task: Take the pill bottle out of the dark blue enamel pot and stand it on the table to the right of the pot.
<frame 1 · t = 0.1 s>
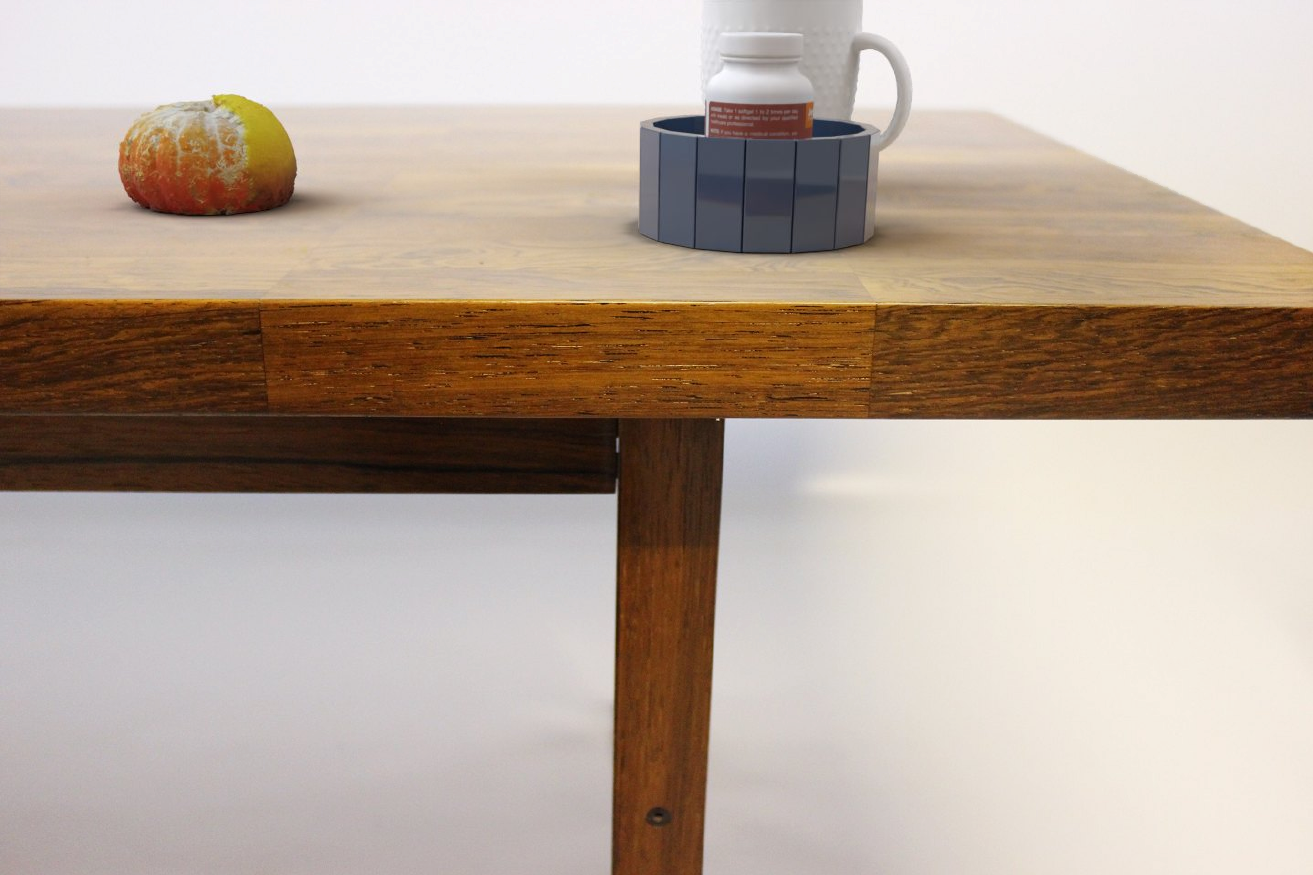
pot: (754, 230, 79), on the table
mug: (788, 188, 96), on the table
pill bottle: (754, 233, 79), resting in pot
fruit: (211, 206, 85), on the table
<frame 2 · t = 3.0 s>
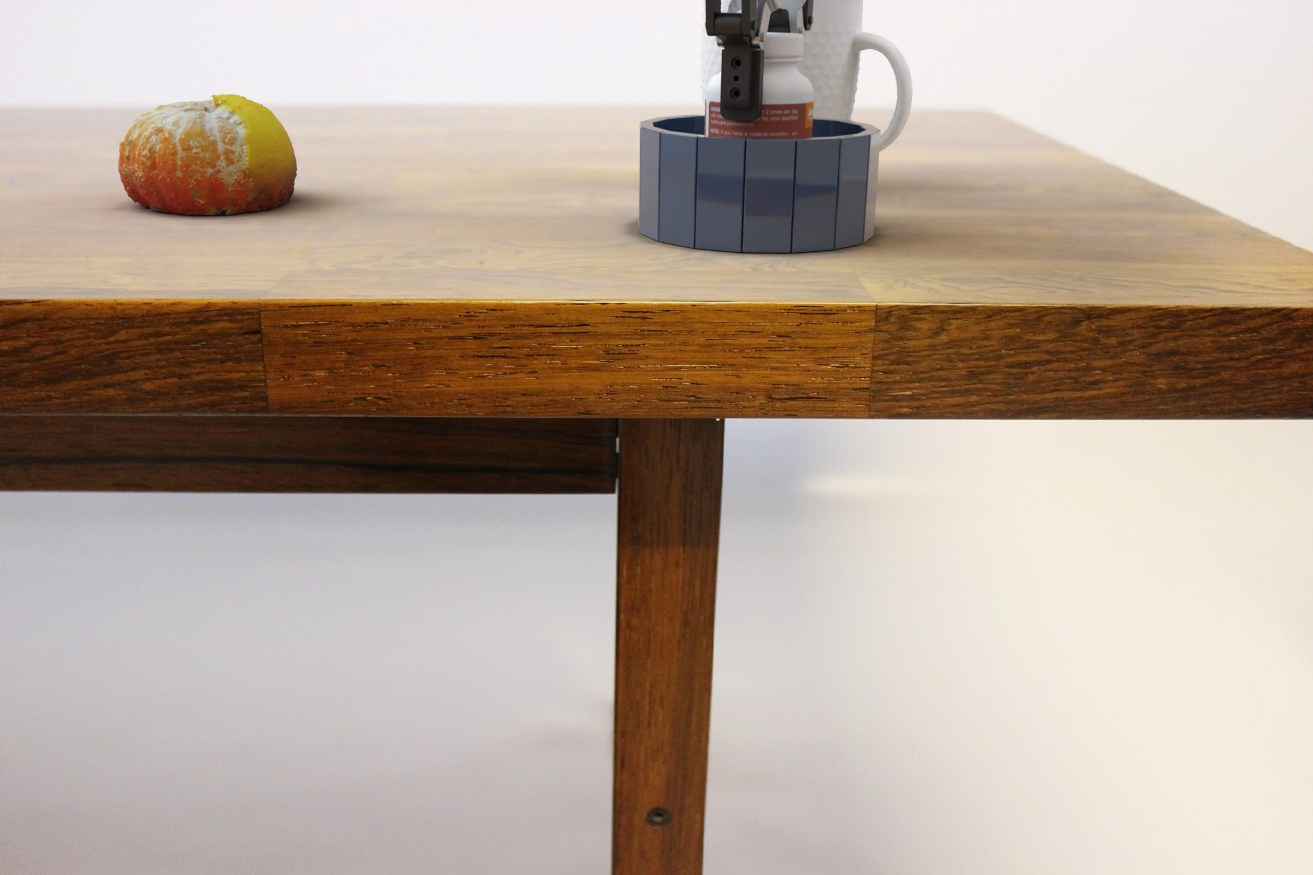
hand: (758, 113, 77), 7 cm above the table, tool pointing down, fingers closed on pill bottle, 6 cm apart
pill bottle: (754, 233, 79), resting in pot, touching gripper
everything else where it was.
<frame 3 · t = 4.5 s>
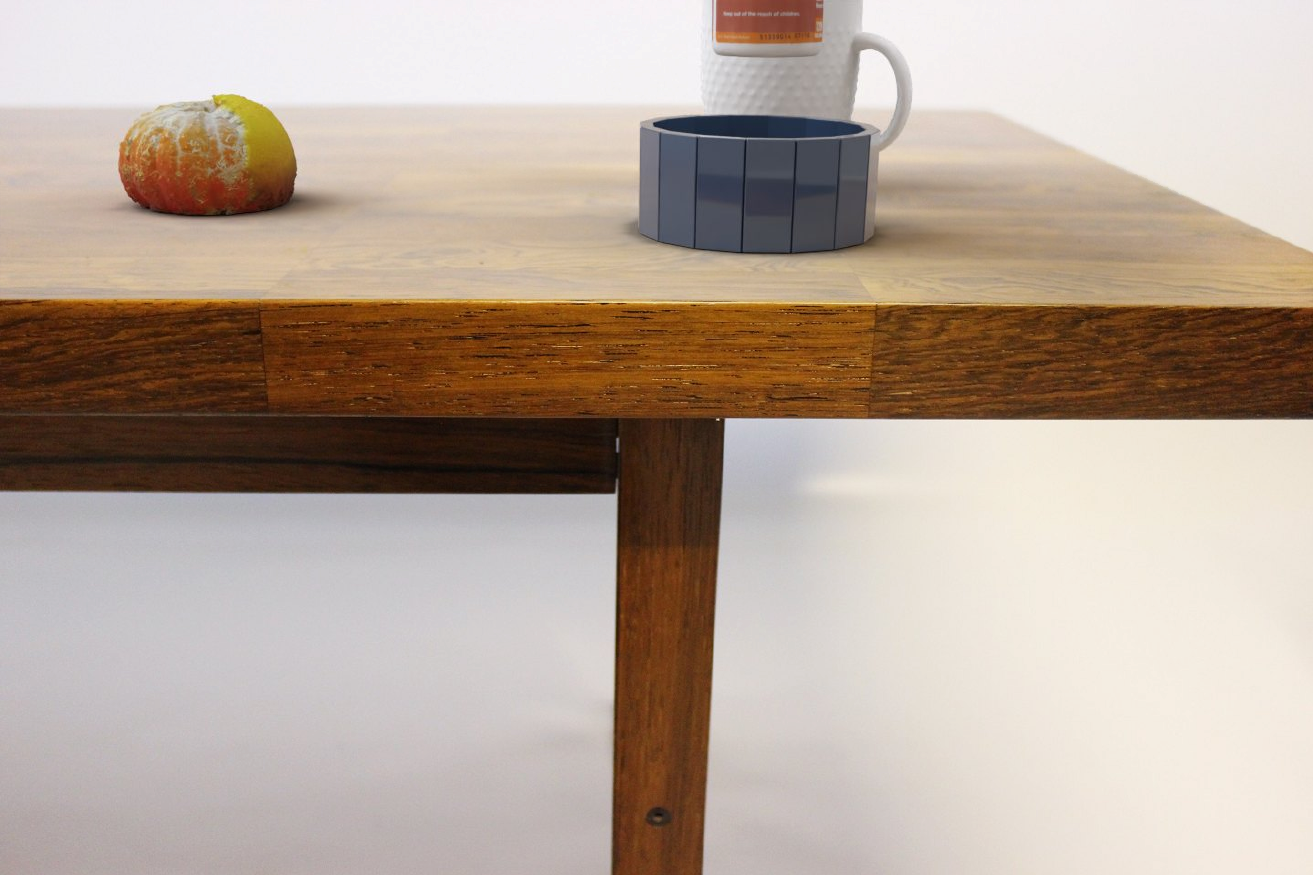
pill bottle: (765, 59, 76), point 10 cm above the table, touching gripper
everything else where it was.
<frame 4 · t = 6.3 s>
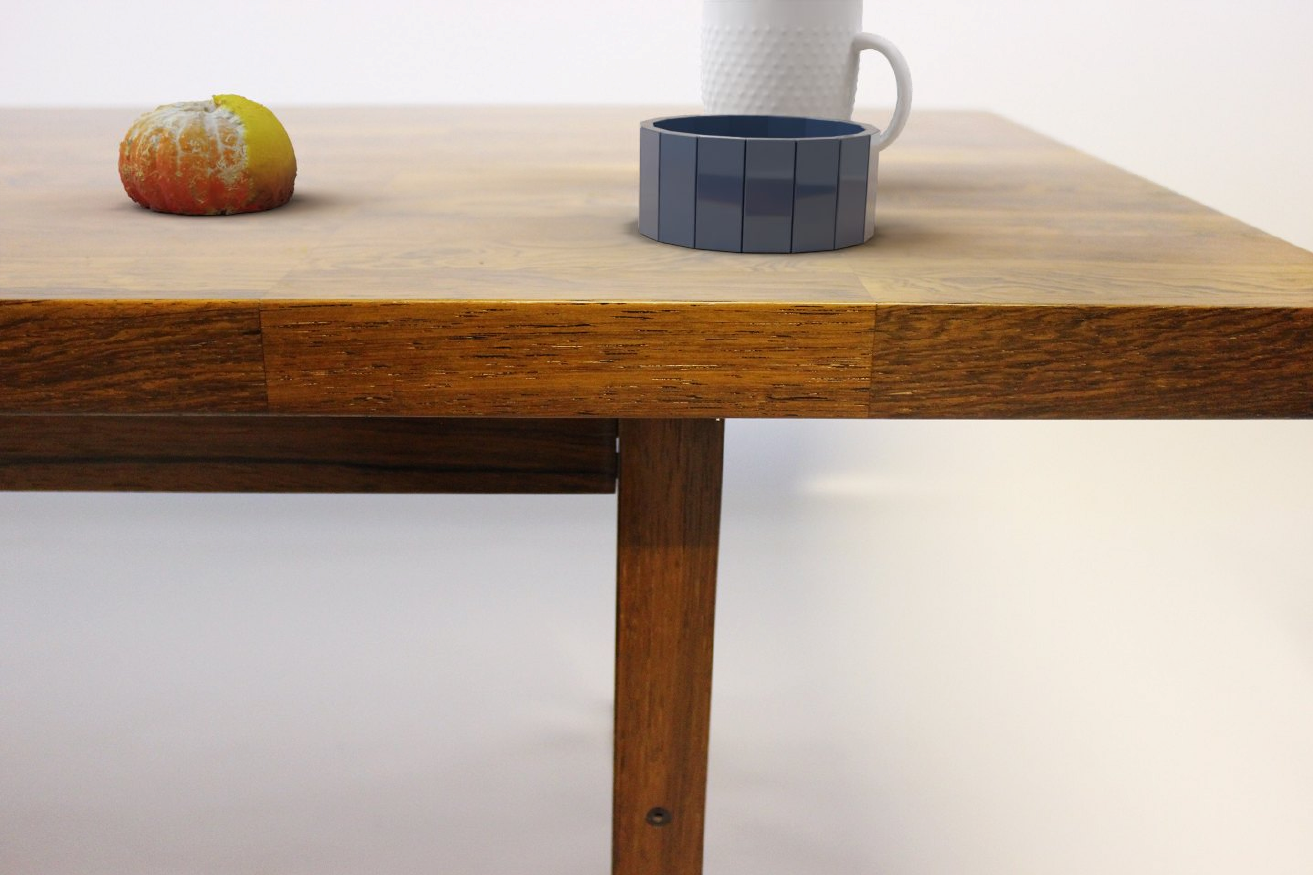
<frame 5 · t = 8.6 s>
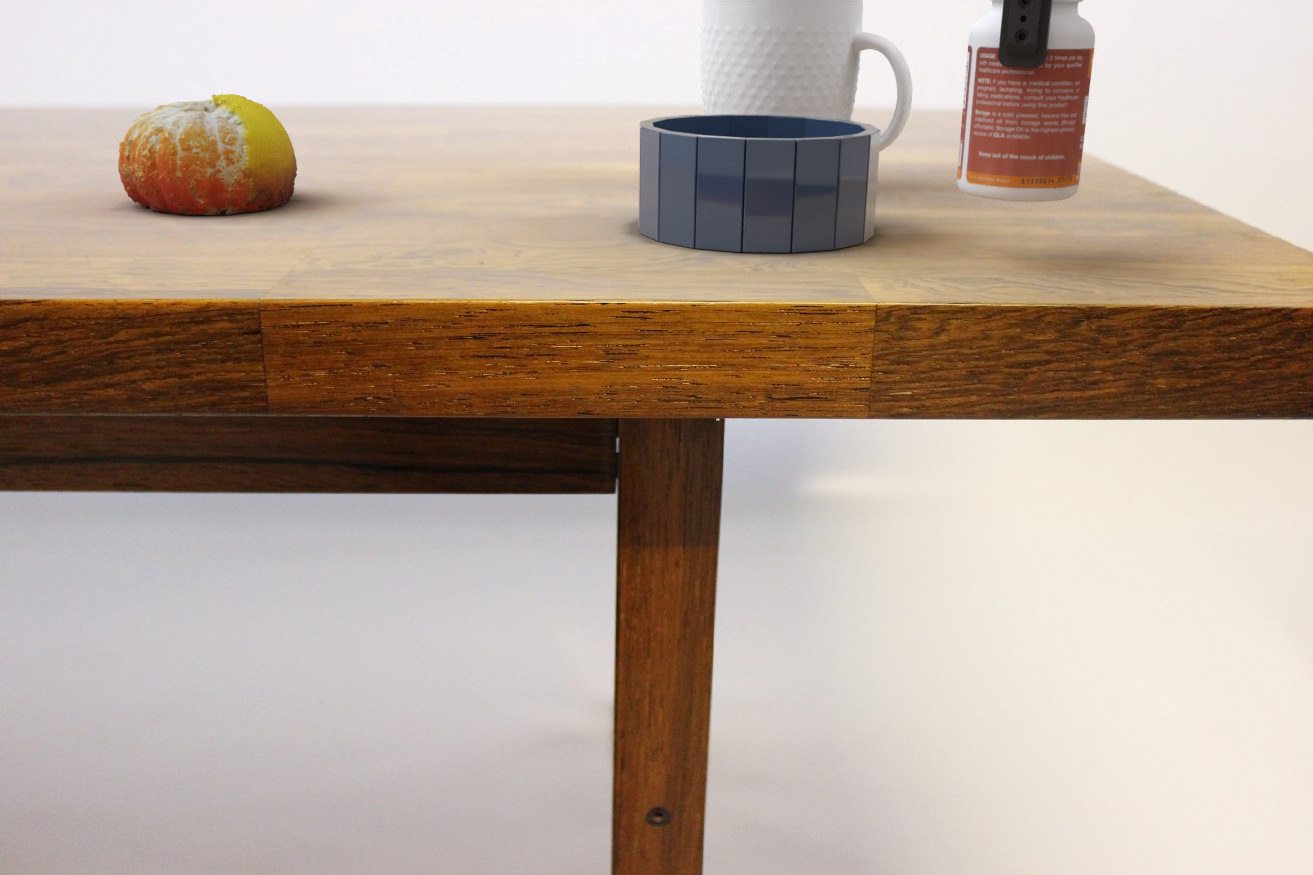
hand: (1029, 62, 68), 10 cm above the table, tool pointing down, fingers closed on pill bottle, 6 cm apart
pill bottle: (1015, 198, 71), point 3 cm above the table, touching gripper
everything else where it was.
when the fingers open (7 cm above the table, at t = 10.1 s): pill bottle stays where it is, on the table.
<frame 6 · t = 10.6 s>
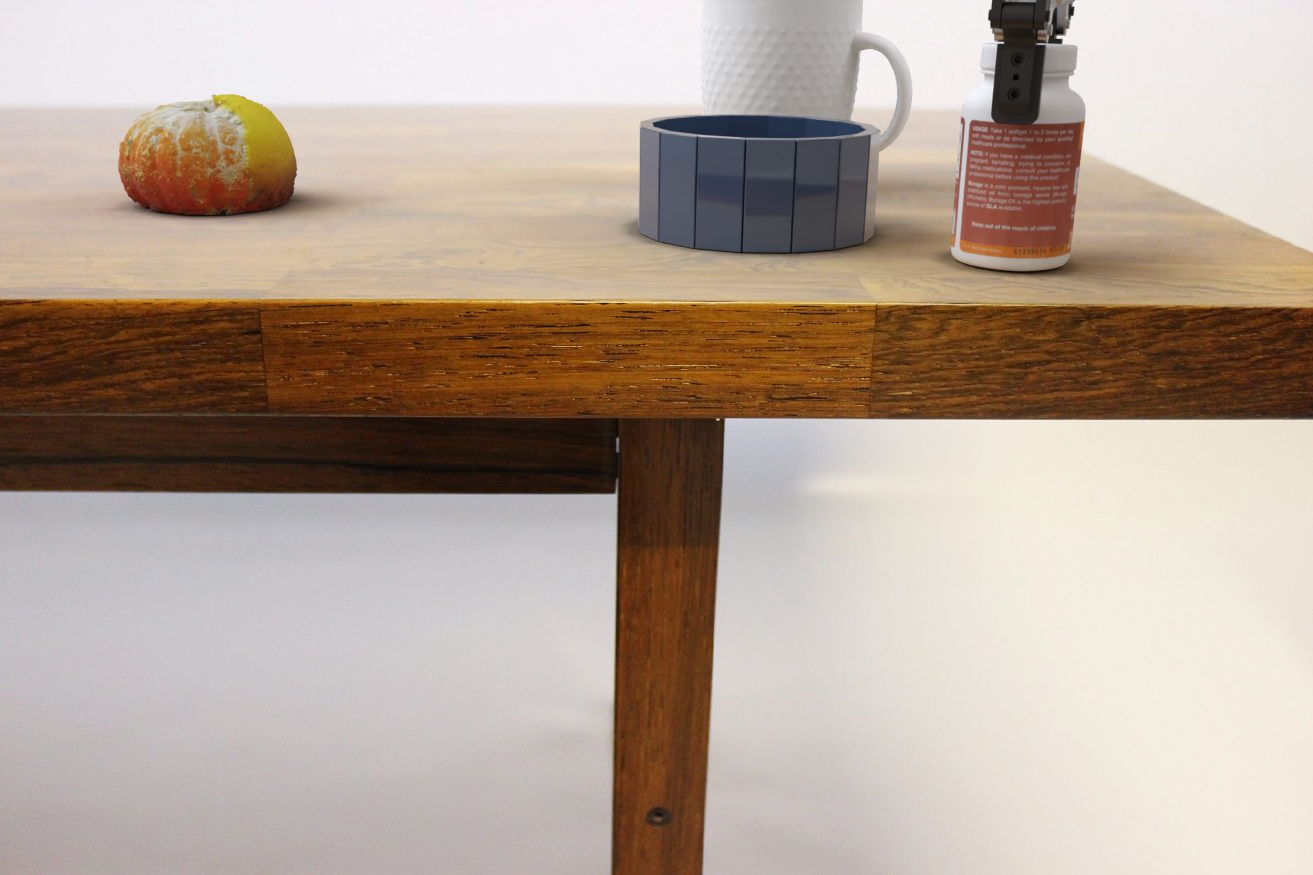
hand: (1024, 116, 69), 8 cm above the table, tool pointing down, fingers open, 8 cm apart
pill bottle: (1007, 265, 72), on the table
everything else where it was.
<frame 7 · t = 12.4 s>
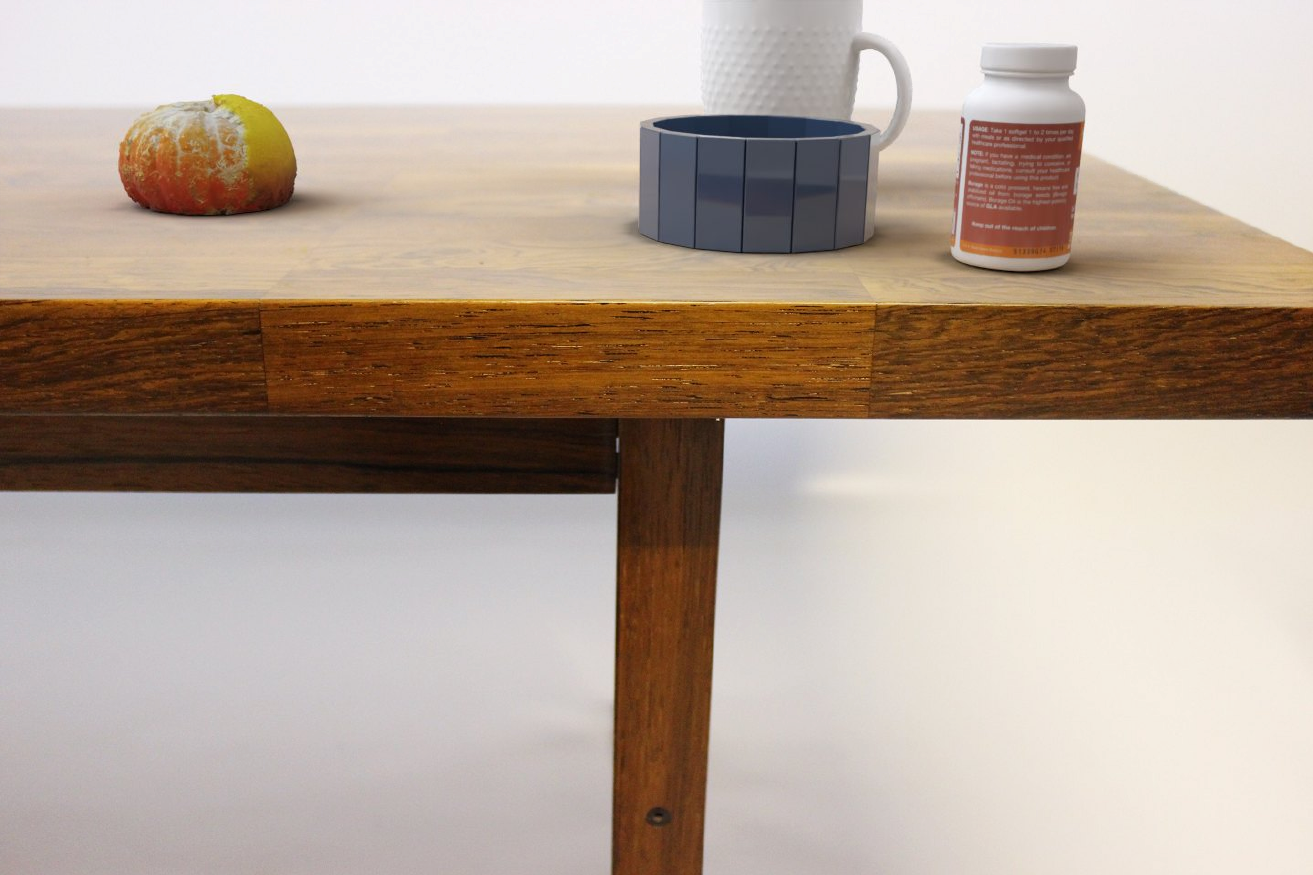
nothing on the table moved.
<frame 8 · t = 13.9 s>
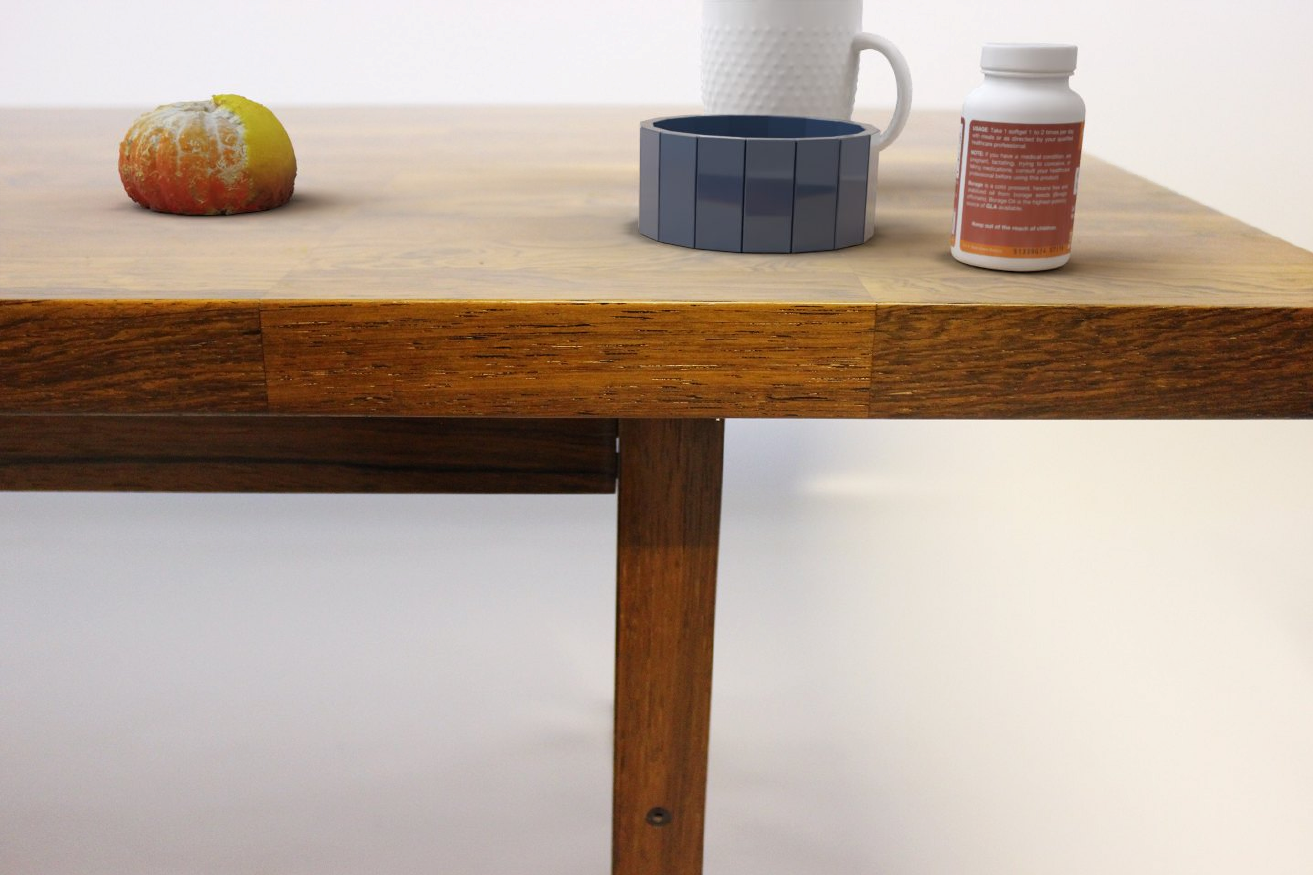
nothing on the table moved.
at the end: pill bottle inside the target area (0.2 cm from its centre), on the table; pill bottle tilted 0°; the gripper is holding nothing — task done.
